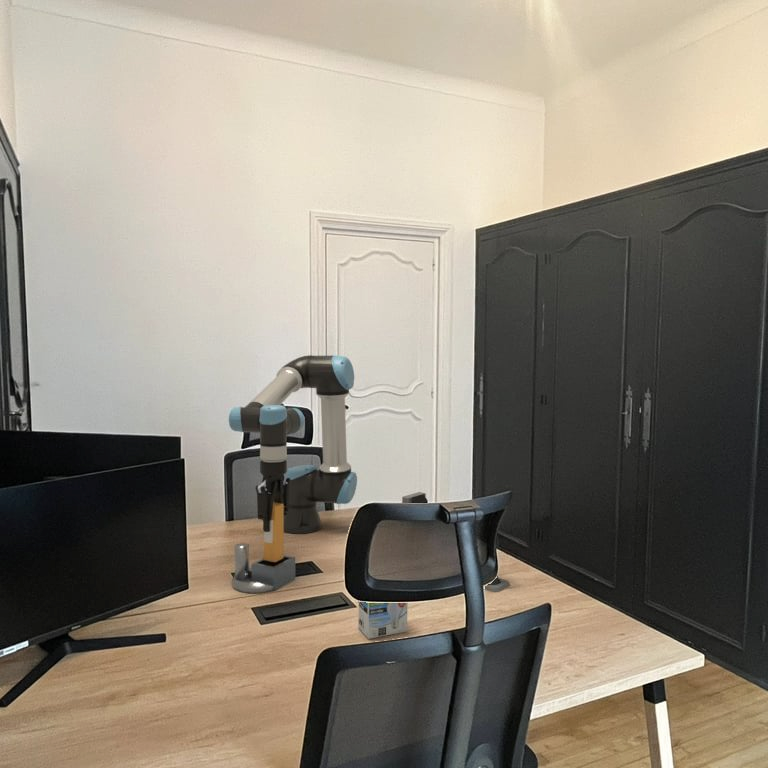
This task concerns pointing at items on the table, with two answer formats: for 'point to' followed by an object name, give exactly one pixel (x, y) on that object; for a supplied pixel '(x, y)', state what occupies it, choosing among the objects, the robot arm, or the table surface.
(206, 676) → the table surface
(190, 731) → the table surface
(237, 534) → the table surface
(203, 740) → the table surface
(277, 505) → the orange rectangular block
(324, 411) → the robot arm
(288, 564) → the bracket
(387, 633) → the light bulb box
